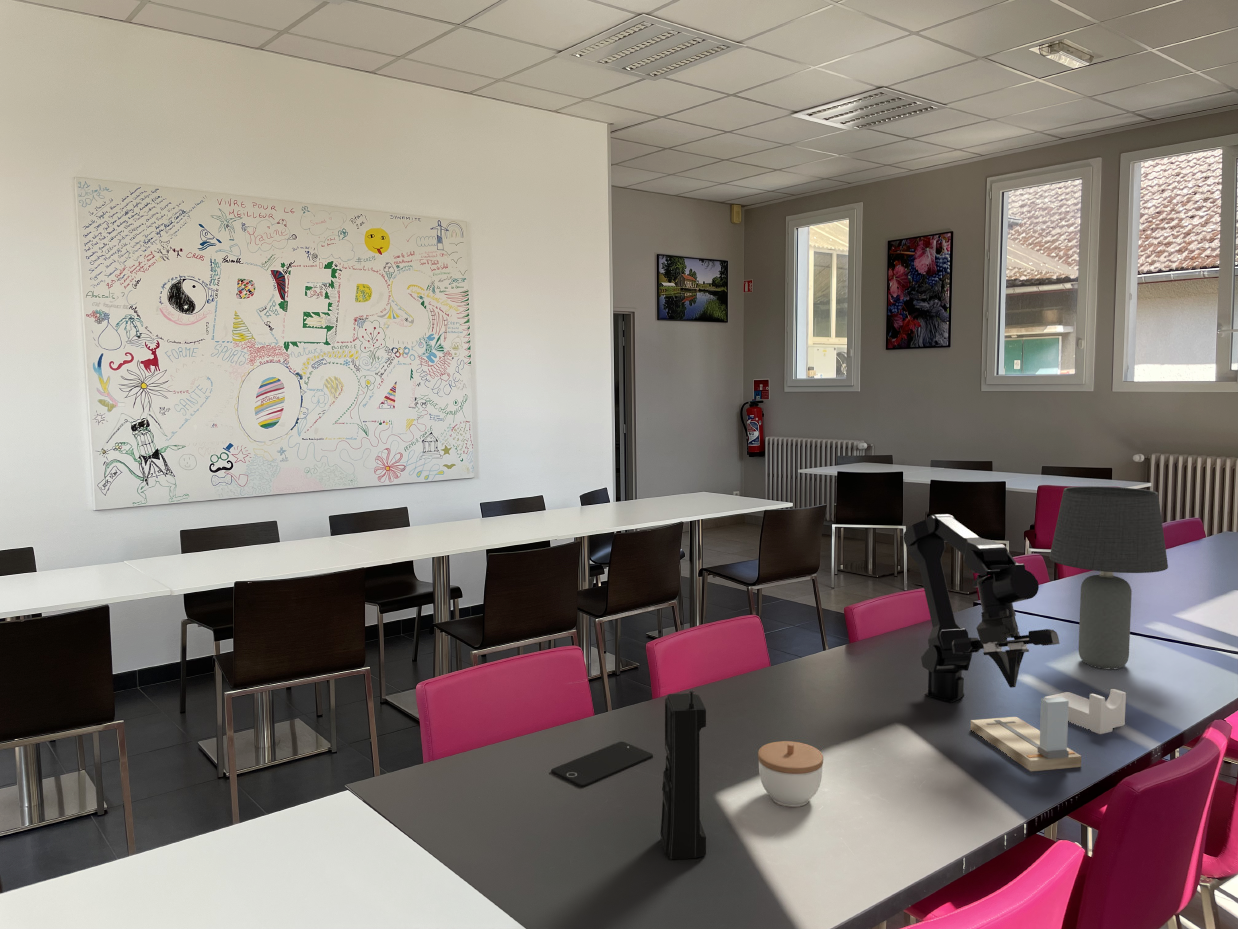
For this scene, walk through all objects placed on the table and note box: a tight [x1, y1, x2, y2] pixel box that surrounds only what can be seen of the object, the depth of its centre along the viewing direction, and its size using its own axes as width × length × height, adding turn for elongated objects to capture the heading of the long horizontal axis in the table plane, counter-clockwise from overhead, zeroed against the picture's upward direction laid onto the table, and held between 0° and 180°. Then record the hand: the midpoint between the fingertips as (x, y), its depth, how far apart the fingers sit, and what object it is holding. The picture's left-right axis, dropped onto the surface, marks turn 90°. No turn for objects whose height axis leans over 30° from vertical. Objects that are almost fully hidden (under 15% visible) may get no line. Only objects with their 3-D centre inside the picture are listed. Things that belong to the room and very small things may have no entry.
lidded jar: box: [757, 740, 824, 808], centre depth 144 cm, size 11×11×9 cm
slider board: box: [970, 716, 1082, 772], centre depth 163 cm, size 19×10×2 cm, turn 9°
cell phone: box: [550, 741, 654, 789], centre depth 158 cm, size 9×18×1 cm, turn 134°
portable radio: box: [660, 690, 707, 860], centre depth 129 cm, size 8×6×25 cm
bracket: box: [1043, 688, 1127, 735], centre depth 176 cm, size 13×7×8 cm, turn 24°
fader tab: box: [1037, 697, 1069, 759], centre depth 155 cm, size 3×4×10 cm
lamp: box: [1049, 485, 1169, 670], centre depth 210 cm, size 25×25×43 cm
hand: (1012, 687), depth 166 cm, fingers closed
